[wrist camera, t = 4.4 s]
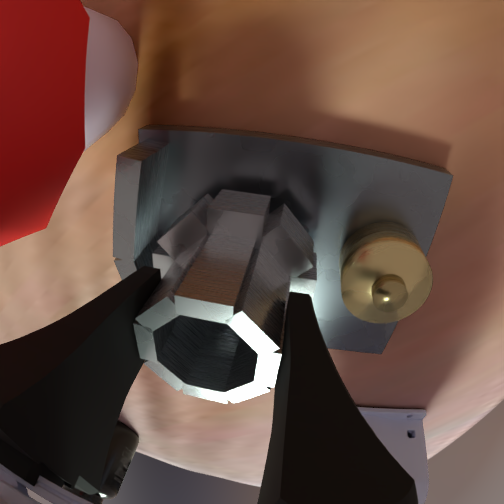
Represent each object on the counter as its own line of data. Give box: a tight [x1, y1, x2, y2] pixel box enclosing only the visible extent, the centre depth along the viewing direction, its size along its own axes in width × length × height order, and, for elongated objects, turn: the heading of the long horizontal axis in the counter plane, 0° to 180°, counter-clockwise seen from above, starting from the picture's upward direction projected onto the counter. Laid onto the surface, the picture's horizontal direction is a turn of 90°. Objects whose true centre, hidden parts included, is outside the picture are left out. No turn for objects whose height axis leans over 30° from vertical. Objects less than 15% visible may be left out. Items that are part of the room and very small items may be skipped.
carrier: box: [113, 125, 453, 354], centre depth 14 cm, size 13×10×4 cm
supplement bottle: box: [63, 421, 139, 504], centre depth 27 cm, size 7×7×12 cm
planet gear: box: [133, 189, 317, 403], centre depth 11 cm, size 6×6×6 cm
